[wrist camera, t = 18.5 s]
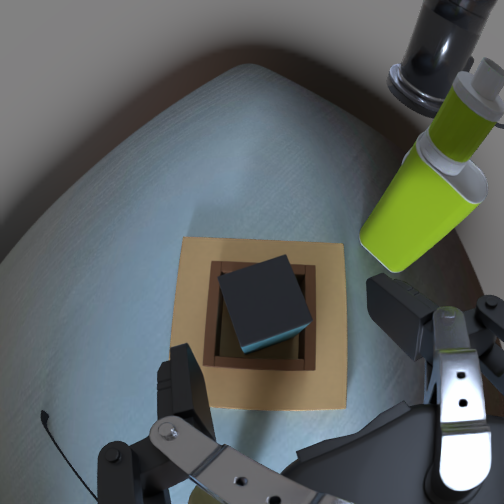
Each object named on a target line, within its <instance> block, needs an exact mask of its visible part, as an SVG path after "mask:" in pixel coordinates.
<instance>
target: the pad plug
mask: <svg viewBox="0 0 504 504" xmlns="http://www.w3.org/2000/svg"><path fill="white" fill-rule="evenodd" d="M217 279H218V282H219V285H220V288H221V291H222V294H223V297H224V300H225V303H226V306H227V309H228V312H229V315H230V318H231V321H232V324H233V326H234V329H235V332H236V335H237V338H238V341H239V344H240V346H241V348H242V350H243V352H244V354H245V355H246V354H249V353H252V352H255V351H258V350H261V349H264V348H267V347H270V346H272V345H275V344H278V343H281V342H283V341H286V340H289V339H291V338H293V337H295V336H296V335H297V334H298V333H299V332H301V331H302V330H303V329H304V328H305V327H306V326H307V325H309V324H310V323H311V322H312V321H313V319H312V316H311V314H310V311H309V309H308V306H307V304H306V301H305V299H304V296H303V294H302V291H301V289H300V287H299V284H298V282H297V279H296V277H295V274H294V272H293V269H292V267H291V265H290V262H289V260H288V257H287V255H286V254H284V255H281V256H278V257H275V258H272V259H269V260H266V261H263V262H260V263H257V264H254V265H251V266H248V267H245V268H242V269H239V270H236V271H233V272H230V273H227V274H224V275H221V276H218V277H217Z"/></svg>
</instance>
